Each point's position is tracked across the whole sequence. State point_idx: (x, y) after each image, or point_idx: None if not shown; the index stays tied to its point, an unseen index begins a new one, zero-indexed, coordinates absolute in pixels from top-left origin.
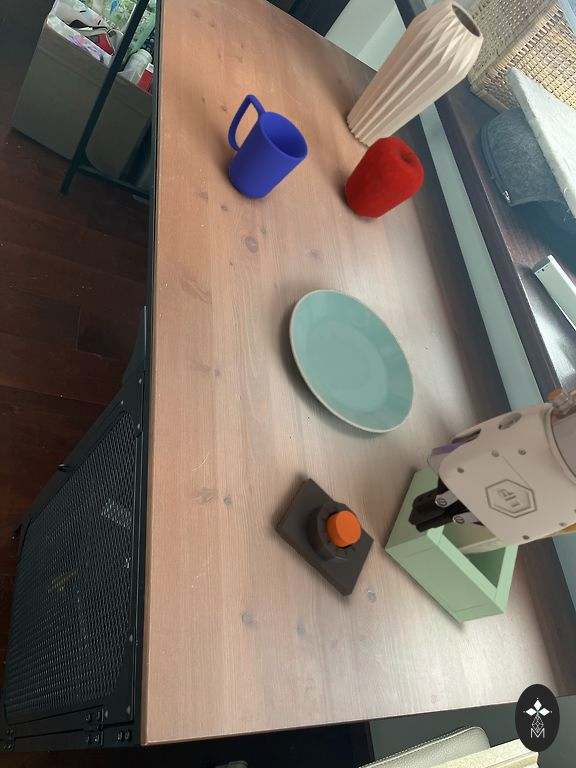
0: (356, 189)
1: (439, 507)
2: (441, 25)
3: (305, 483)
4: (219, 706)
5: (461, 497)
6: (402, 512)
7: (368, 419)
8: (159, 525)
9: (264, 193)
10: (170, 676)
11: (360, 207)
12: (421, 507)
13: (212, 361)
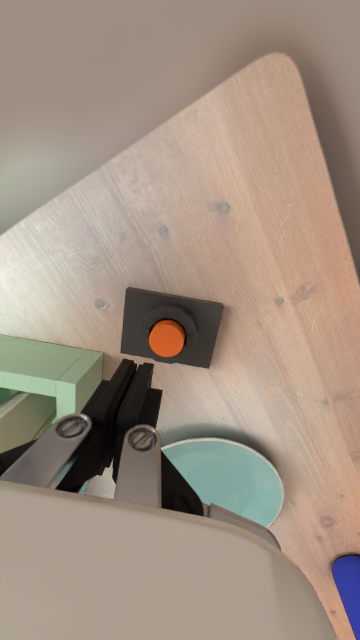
0: None
1: (135, 422)
2: None
3: (210, 360)
4: (224, 108)
5: (147, 534)
6: None
7: (169, 453)
8: (341, 239)
9: (341, 573)
10: (285, 107)
11: None
12: (153, 398)
13: (333, 408)
